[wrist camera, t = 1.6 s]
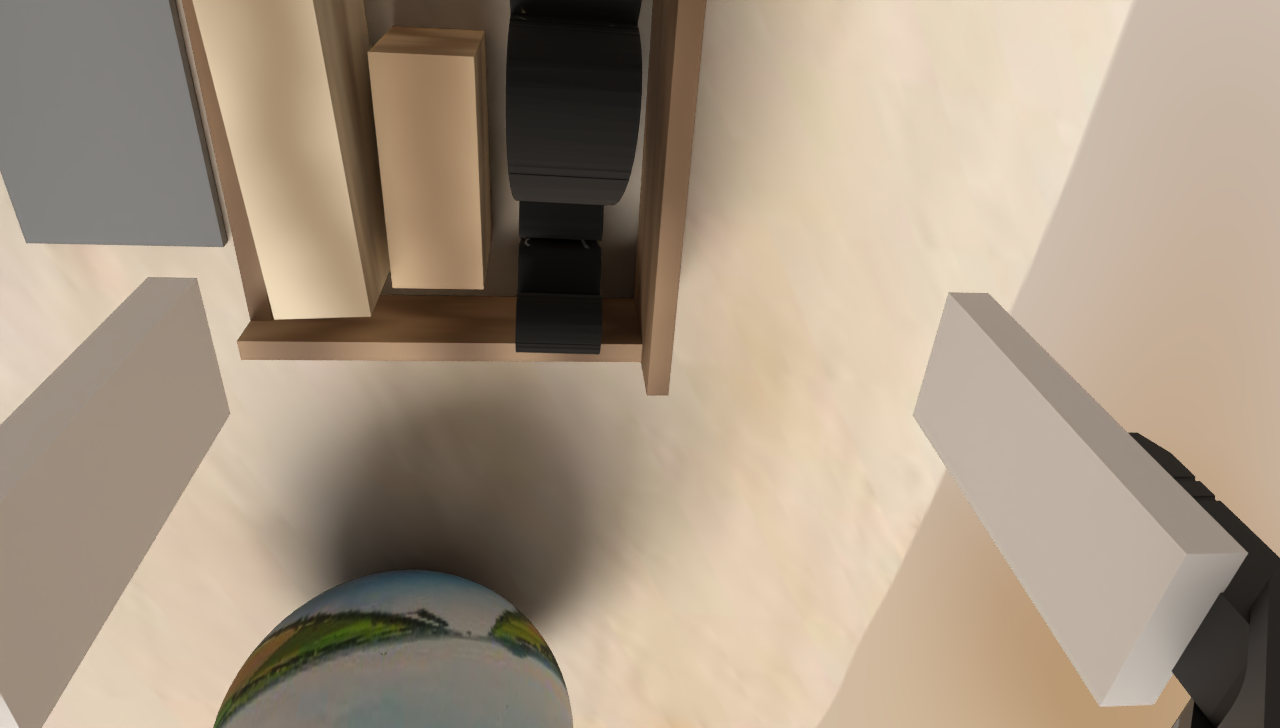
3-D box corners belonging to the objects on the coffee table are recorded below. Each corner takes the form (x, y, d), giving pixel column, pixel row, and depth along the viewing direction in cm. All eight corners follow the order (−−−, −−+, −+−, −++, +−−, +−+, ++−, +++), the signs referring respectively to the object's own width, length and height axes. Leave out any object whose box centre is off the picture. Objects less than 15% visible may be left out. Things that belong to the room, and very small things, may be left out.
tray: (272, 310, 42) (219, 394, 36) (140, -358, 28) (12, -427, 22) (650, 314, 45) (668, 395, 38) (698, -303, 31) (740, -351, 24)
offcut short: (412, 235, 41) (392, 287, 36) (393, 25, 36) (367, 51, 31) (492, 237, 41) (483, 289, 36) (484, 30, 36) (473, 56, 31)
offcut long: (320, 244, 41) (274, 319, 34) (242, -126, 32) (160, -123, 26) (400, 242, 41) (371, 316, 34) (344, -124, 33) (290, -121, 26)
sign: (533, -184, 35) (515, -607, 16) (606, -176, 36) (676, -580, 16) (522, 315, 40) (500, 453, 21) (587, 317, 41) (622, 454, 21)
